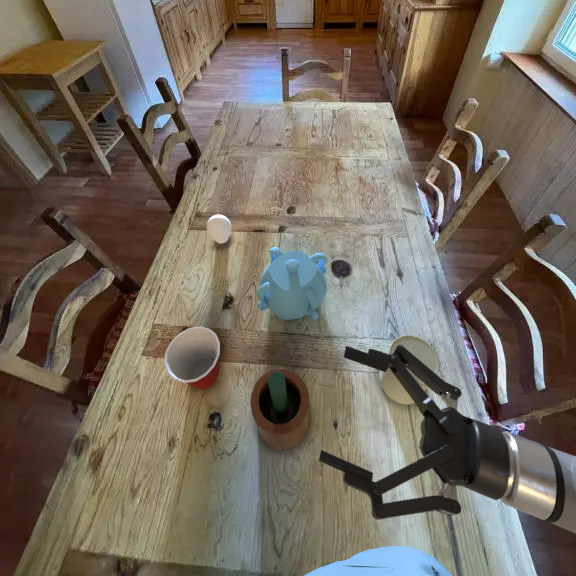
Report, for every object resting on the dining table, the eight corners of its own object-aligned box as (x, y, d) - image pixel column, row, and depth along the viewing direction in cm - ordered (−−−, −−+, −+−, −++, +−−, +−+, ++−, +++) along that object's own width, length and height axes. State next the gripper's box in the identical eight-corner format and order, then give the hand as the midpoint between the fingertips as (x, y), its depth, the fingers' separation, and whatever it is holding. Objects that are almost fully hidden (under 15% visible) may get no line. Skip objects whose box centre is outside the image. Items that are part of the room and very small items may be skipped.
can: (380, 401, 69) (390, 381, 61) (378, 354, 75) (387, 330, 67) (427, 408, 68) (444, 388, 59) (421, 359, 74) (435, 336, 66)
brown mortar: (298, 459, 63) (297, 445, 54) (249, 437, 65) (240, 420, 56) (314, 401, 69) (316, 380, 60) (269, 383, 72) (264, 360, 63)
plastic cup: (213, 338, 79) (202, 314, 71) (239, 376, 73) (230, 354, 65) (170, 371, 74) (153, 349, 66) (194, 414, 68) (179, 396, 60)
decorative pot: (315, 335, 79) (317, 307, 70) (251, 315, 83) (245, 285, 74) (331, 277, 90) (335, 245, 81) (274, 261, 94) (272, 230, 85)
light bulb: (227, 230, 103) (221, 205, 95) (239, 244, 99) (233, 219, 91) (207, 241, 100) (199, 216, 92) (218, 256, 96) (210, 231, 88)
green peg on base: (289, 435, 65) (284, 401, 49) (268, 426, 66) (257, 390, 51) (297, 410, 68) (295, 371, 52) (276, 401, 69) (268, 360, 54)
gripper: (494, 608, 36) (305, 514, 42) (484, 372, 53) (350, 328, 59) (526, 619, 31) (306, 510, 37) (504, 354, 48) (355, 307, 54)
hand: (333, 398), depth 48 cm, fingers open, 13 cm apart
